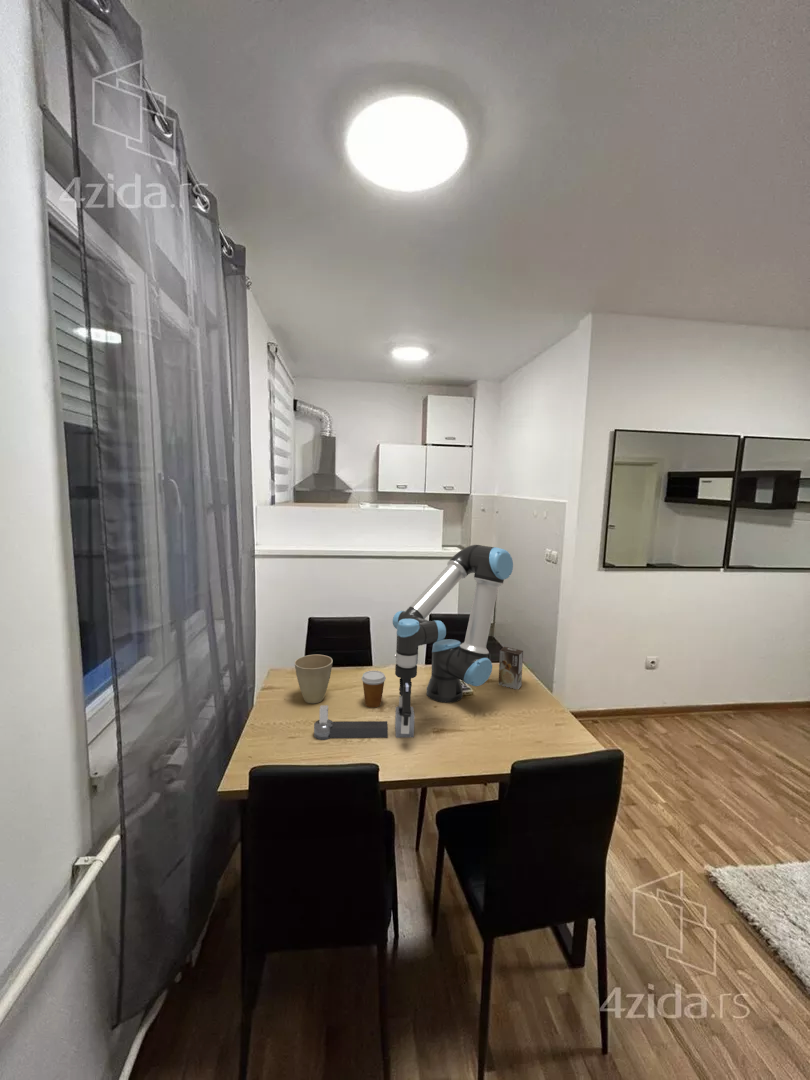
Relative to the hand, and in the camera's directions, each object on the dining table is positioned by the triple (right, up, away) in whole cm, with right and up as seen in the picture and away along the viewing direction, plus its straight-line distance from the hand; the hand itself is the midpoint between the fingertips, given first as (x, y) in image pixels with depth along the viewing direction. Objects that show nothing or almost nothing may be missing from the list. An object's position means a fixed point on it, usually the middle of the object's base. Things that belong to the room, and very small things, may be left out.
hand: (403, 722), depth 153 cm
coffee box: (+47, -1, +42) cm, 63 cm away
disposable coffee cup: (-12, -1, +21) cm, 24 cm away
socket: (0, -4, +1) cm, 4 cm away
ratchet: (-19, -3, -2) cm, 19 cm away
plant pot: (-36, 0, +23) cm, 43 cm away
